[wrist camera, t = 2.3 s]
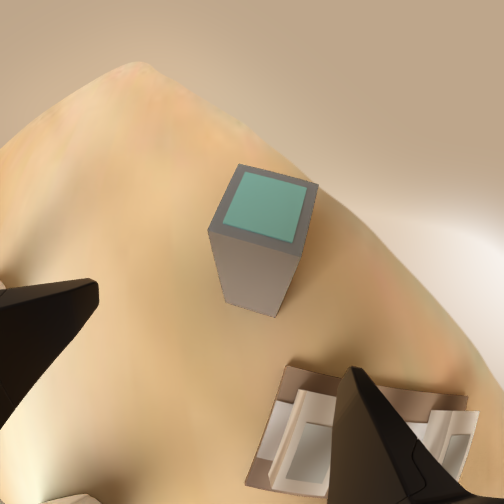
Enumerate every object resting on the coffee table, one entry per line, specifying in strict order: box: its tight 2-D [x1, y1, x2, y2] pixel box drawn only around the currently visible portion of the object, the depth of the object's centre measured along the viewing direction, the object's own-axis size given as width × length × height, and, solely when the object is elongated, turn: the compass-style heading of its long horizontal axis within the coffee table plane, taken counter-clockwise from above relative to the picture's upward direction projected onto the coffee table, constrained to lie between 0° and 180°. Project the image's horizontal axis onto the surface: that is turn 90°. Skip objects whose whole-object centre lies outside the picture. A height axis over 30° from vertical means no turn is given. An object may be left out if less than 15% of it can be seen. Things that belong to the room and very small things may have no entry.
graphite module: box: [207, 164, 318, 317], centre depth 17 cm, size 4×4×11 cm
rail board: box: [245, 365, 480, 499], centre depth 14 cm, size 18×10×4 cm, turn 72°
